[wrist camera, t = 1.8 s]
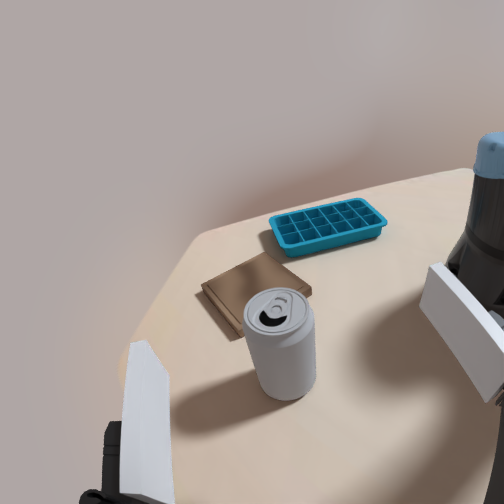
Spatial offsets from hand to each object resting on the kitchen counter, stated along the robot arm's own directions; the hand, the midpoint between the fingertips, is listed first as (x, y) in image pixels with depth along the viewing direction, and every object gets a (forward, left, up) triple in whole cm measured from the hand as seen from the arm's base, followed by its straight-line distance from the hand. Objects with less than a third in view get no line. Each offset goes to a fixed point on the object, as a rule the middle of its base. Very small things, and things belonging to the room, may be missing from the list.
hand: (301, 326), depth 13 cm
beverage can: (-4, -9, -21) cm, 23 cm away
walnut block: (-9, -24, -20) cm, 33 cm away
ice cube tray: (-28, -28, -21) cm, 45 cm away
